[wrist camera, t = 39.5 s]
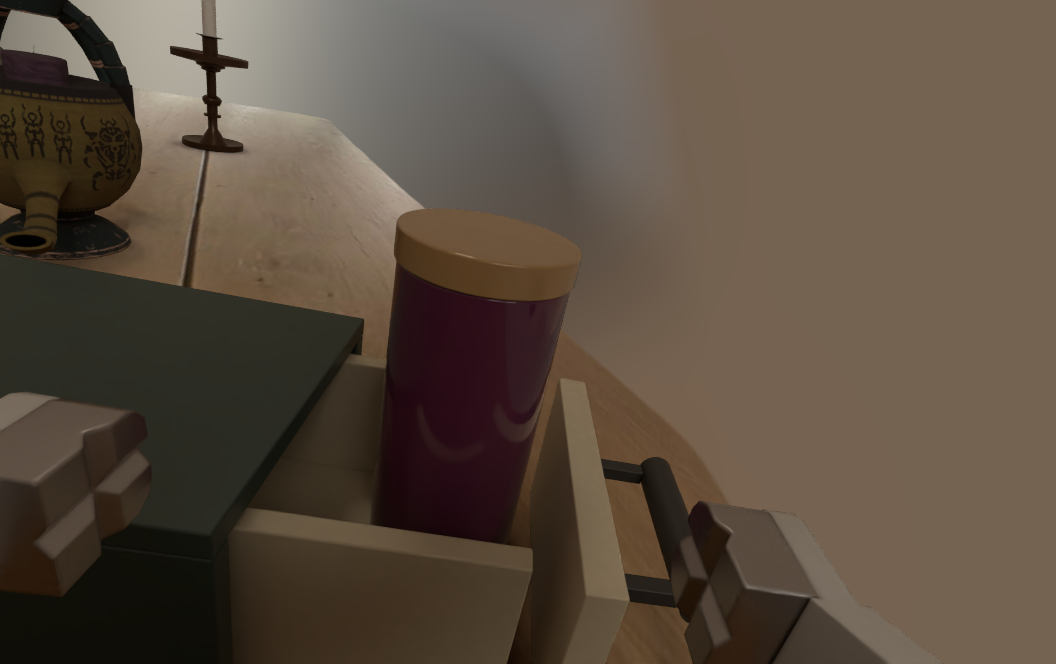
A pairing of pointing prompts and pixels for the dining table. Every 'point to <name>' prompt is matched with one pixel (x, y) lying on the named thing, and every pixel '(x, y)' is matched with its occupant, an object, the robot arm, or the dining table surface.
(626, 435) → the dining table surface
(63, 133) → the teapot
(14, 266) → the cabinet
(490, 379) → the canister
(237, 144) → the candlestick
